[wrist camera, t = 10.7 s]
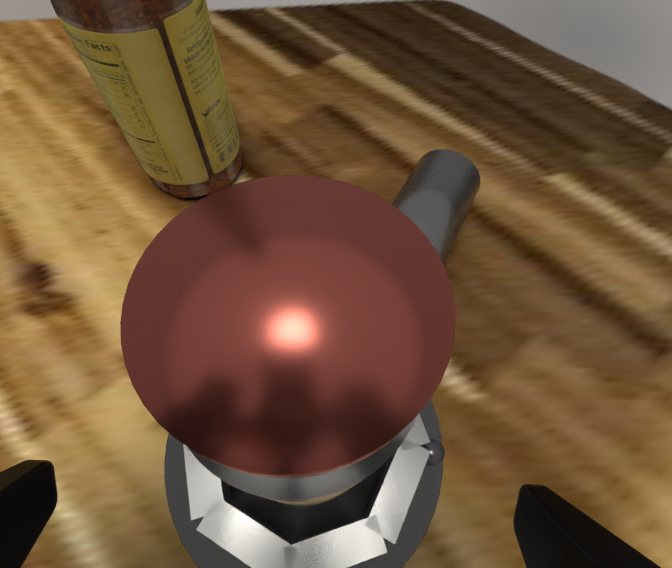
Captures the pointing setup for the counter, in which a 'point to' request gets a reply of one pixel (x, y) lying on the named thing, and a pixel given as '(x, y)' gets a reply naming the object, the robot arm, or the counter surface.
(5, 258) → the counter surface
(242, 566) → the dark grey handled piece
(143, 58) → the sauce bottle
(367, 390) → the jar with red lid
